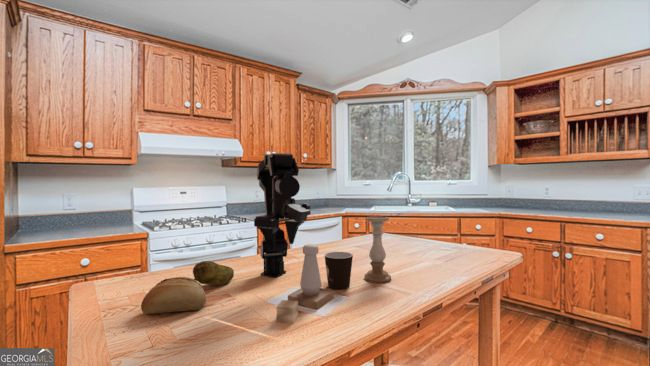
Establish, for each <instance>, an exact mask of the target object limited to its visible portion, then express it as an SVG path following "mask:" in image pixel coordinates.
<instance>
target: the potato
mask: <svg viewBox="0 0 650 366" xmlns="http://www.w3.org/2000/svg"><path fill="white" fill-rule="evenodd" d="M192 274H193V278H194V280H196V281H197V282H198V283H199V284H200V285H201V284H202V285H210V286H215V287H218V286H223V285H225V284H228V283H229V282H230V281H231V280H233V279H234V276H235V275H234V274H235V271H234V269H233V268H232V267H230V266H227V265H223V264H218V263H216V262H214V261H211V260H204V261H200V262H198V263H196V264H194V267H193V268H192Z"/></svg>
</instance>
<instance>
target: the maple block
mask: <svg viewBox="0 0 650 366" xmlns="http://www.w3.org/2000/svg"><path fill="white" fill-rule="evenodd" d="M298 317H299V311H298V301H289V300H282V301H281V302H280V303H279V304H278V306H277V305H276V323H287V324H294V323H295V322H296V320H297V318H298Z"/></svg>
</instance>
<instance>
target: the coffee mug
mask: <svg viewBox="0 0 650 366" xmlns="http://www.w3.org/2000/svg"><path fill="white" fill-rule="evenodd" d="M324 261H325V262H324V263H325V269H326V270H325V271H326V279H327V286H328V288H329V290H333V291H344V290H347V289H349V288H350V284H351V276H352V266H353V254H352V253H351V252H348V251H332V252H331V251H330V252H326V253H324Z"/></svg>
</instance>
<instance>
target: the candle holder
mask: <svg viewBox="0 0 650 366" xmlns="http://www.w3.org/2000/svg"><path fill="white" fill-rule="evenodd" d="M365 221H366V222H368V223H369V222H370V225H371V226H372V231H371V234H372V246H371V247H370V250H369V255H368V256H369V259H370V260H371V262H370V263H369V265H371V267H372V268H371V270H368V271H367V272H366V273H365V274H364V277H363V278H364V280H366V281H367V282H370V283H375V284H376V283H379V284H382V283H389V282H390V281H391V280H392V276H391V274H389V272H387V271H386V270H384V266H385V264H386V262H384V261H385V259H386V257H387V253H386V250H385V248H384V246H383V240H382V235H384V232H383V231H382V229H383V226H384V225H385V224H384V223H386V222H389V221H390V219H389V217H387V216H376V215H375V216H367V217H365Z"/></svg>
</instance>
